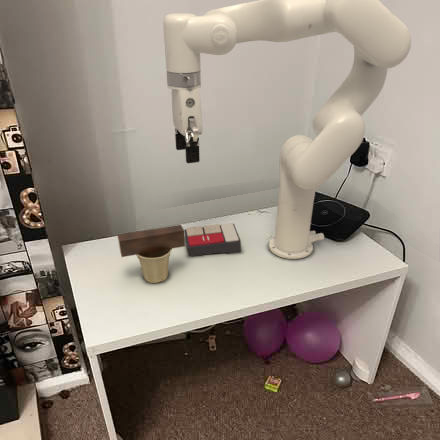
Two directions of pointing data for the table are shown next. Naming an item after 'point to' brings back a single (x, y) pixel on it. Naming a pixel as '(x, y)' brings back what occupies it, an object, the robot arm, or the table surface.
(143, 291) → the table surface
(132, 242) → the brown wooden block
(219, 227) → the calculator
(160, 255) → the flower pot
